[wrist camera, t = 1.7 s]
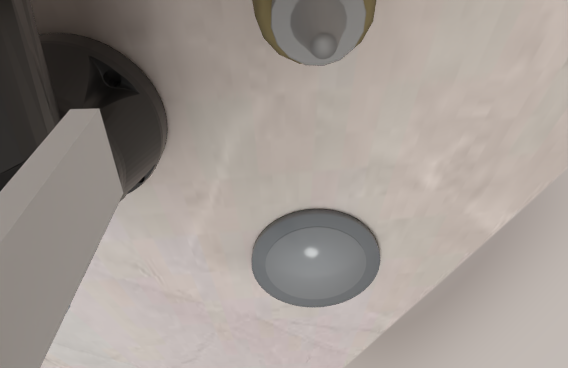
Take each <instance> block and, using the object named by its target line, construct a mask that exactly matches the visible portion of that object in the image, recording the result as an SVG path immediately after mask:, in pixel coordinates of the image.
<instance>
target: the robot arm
mask: <svg viewBox="0 0 568 368" xmlns="http://www.w3.org/2000/svg"><path fill="white" fill-rule="evenodd" d="M166 139H167V120H166V114H165V110H164V107H163V104H162V102H161V99H160V97H159V95H158V93H157V91H156V90H155V88H154V86H153V85H152V83H151V82H150V81H149V79H148V78H147V77H146V76H145V74H144V73H143V72H142V71H141V70H140V69H139V68H138V67H137V66H136V65H135V64H134V63H133V62H131V61H130V60H129V59H128V58H126V57H125V56H124V55H122V54H121V53H119V52H118V51H116V50H114V49H113V48H111V47H109V46H107V45H105V44H103V43H100V42H98V41H95V40H93V39H90V38H86V37H83V36H78V35H73V34H64V33H51V34H43V35H38V31H37V27H36V23H35V19H34V15H33V11H32V6H31V2H30V0H0V368H40V367H41V365H42V362H43V360H44V358H45V356H46V354H47V352H48V350H49V348H50V346H51V344H52V342H53V339H54V337H55V335H56V333H57V331H58V329H59V327H60V325H61V323H62V321H63V319H64V316H65V314H66V313H67V311H68V309H69V307H70V304H71V302H72V300H73V298H74V296H75V293H76V291H77V289H78V287H79V285H80V283H81V281H82V279H83V277H84V275H85V273H86V270H87V268H88V266H89V264H90V262H91V260H92V258H93V256H94V254H95V252H96V250H97V247H98V245H99V243H100V241H101V239H102V237H103V235H104V233H105V231H106V229H107V226H108V224H109V222H110V220H111V218H112V216H113V214H114V212H115V210H116V208H117V206H118V203H119V202H120V201H121V200H122V199H123V198H124V197H125V196H126V195H127V194H128V193H130V192H132V191H134V190H135V189H136V188H138V187H139V186H140V185H142V184H143V183H144V182H145V181H146V180H147V179H148V178H149V177H150V175H151V174H152V173H153V171H154V170H155V168H156V166H157V164H158V162H159V160H160V157H161V155H162V152H163V150H164V147H165V144H166Z"/></svg>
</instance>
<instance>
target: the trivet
mask: <svg viewBox="0 0 568 368" xmlns="http://www.w3.org/2000/svg"><path fill="white" fill-rule="evenodd" d="M379 265H380V254H379V249H378V245H377V242H376V239H375V237H374V235H373V234H372V232H371V231H370V230H369V229H368V228H367V227H366V226H365V225H364V224H363V223H362V222H360V221H359V220H357V219H356V218H354V217H352V216H350V215H347V214H344V213H342V212H338V211H334V210H326V209H310V210H303V211H297V212H294V213H291V214H288V215H285V216H283V217H281V218H279V219H277V220H276V221H274V222H273V223H271V224H270V225H268V226H267V227H266V228H265V229H264V230H263V231H262V233H261V234H260V235H259V237H258V238H257V240H256V242H255V245H254V247H253V253H252V270H253V274H254V276H255V279H256V280H257V282H258V284H259V285H260V286H261V287H262V288H263V289H264V290H265V291H266V292H267V293H268V294H270V295H271V296H273V297H274V298H276V299H278V300H280V301H283V302H285V303H288V304H292V305H296V306H302V307H325V306H331V305H335V304H339V303H342V302H345V301H347V300H349V299H352V298H353V297H355V296H357V295H358V294H360V293H361V292H363V291H364V290H365V289H366V288H367V287H368V286H369V285H370V284H371V283H372V281H373V280H374V278H375V277H376V275H377V272H378V270H379Z"/></svg>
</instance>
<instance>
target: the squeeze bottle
mask: <svg viewBox="0 0 568 368" xmlns="http://www.w3.org/2000/svg"><path fill="white" fill-rule="evenodd" d="M252 1H253V7H254V13H255V17H256V20H257V22H258V25H259V27H260V30H261V32H262V35H263V38H264V39H265V40H266V41H267V42H268V43H269V44H270V45H271V46H272V47H273V48H274V49H275V50H276V52H277V53H278V54H279V55H282V56H284V57H286V58H288V59H290V60H293V61H295V62H297V63H299V64H304V65H317V66H324V65H327V64H330V63H333V62H336V61H338V60H341V59H342V58H343V57H344V56H345V55H347V54H348V53H349V52H350V51H351V50H353V49H354V48H355V47H356V46H357V45H358V44H359V43H361V41H362V40H363V38H364V36H365V34H366V33H367V31H368V29H369V27H370V26H371V24H372V22H373V18H374V12H375V5H376V0H252Z"/></svg>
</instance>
